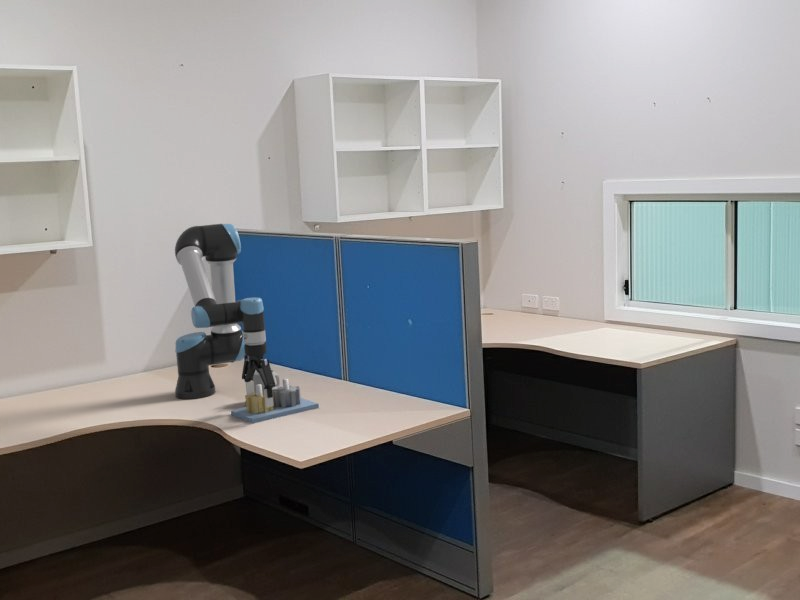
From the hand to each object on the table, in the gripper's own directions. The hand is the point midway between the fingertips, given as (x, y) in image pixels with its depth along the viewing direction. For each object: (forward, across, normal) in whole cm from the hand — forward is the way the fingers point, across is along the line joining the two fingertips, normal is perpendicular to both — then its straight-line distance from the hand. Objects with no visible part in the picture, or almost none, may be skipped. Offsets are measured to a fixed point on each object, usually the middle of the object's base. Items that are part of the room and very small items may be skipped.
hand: (260, 403), depth 322 cm
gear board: (+4, 0, +6) cm, 7 cm away
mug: (+4, -16, +12) cm, 20 cm away
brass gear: (+2, 0, 0) cm, 3 cm away
